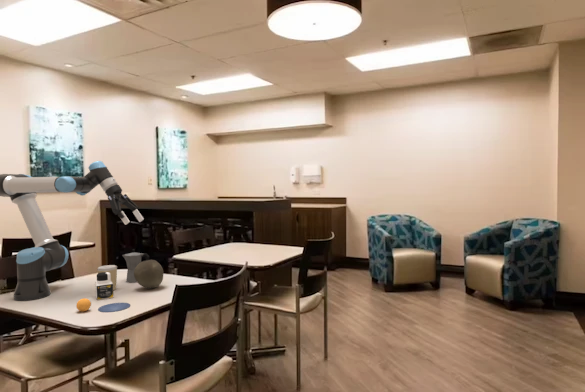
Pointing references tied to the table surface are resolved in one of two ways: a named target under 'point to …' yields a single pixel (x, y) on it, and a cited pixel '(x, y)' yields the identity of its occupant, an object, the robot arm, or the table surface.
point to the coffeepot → (133, 264)
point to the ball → (83, 304)
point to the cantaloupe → (149, 274)
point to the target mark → (114, 307)
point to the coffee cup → (113, 272)
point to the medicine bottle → (103, 286)
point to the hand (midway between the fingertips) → (134, 222)
